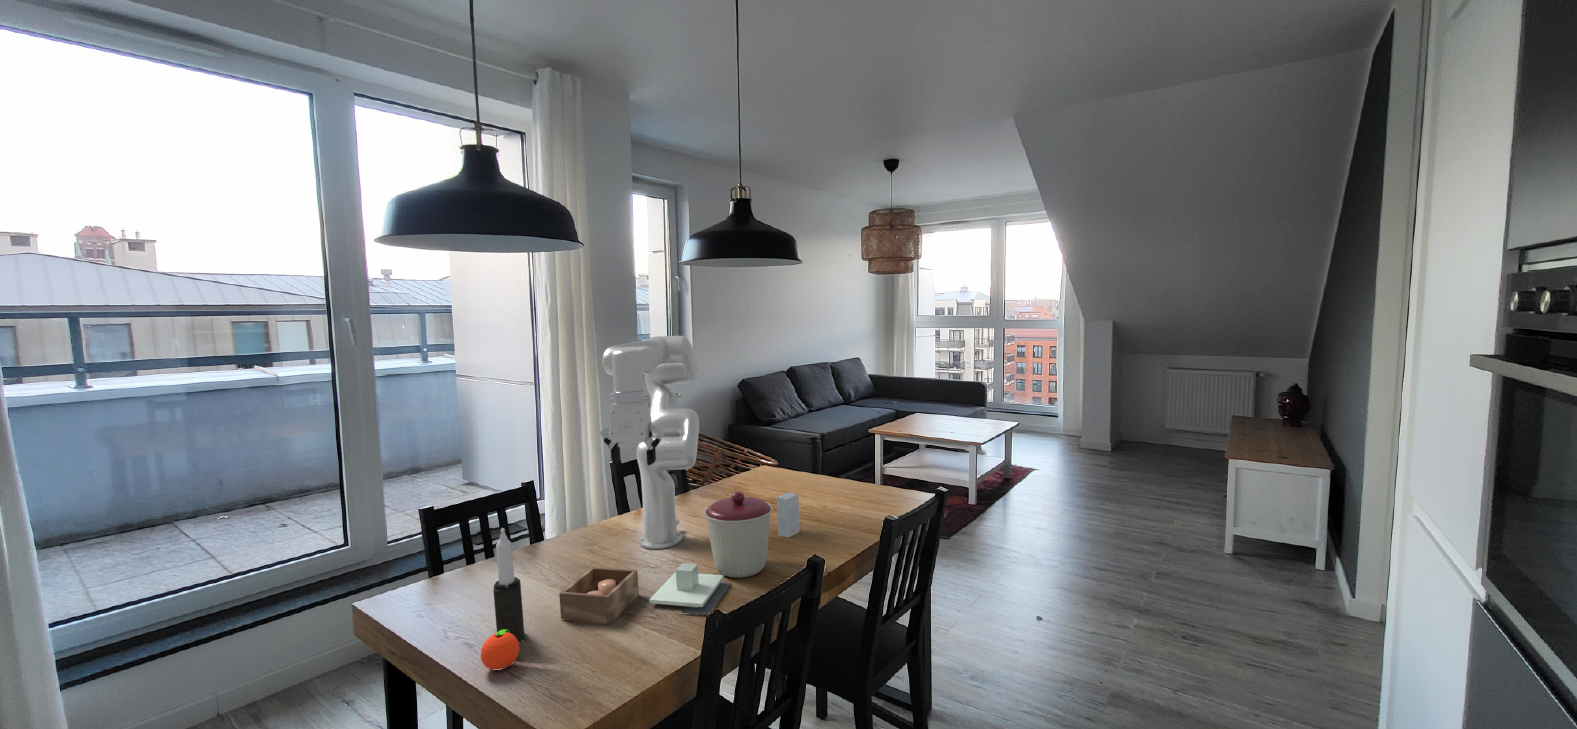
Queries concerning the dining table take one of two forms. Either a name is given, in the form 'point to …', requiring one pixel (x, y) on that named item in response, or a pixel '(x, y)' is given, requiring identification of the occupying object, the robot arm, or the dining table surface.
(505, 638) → the clementine
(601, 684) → the dining table surface
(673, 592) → the lid
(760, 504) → the canister
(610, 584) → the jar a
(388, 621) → the dining table surface
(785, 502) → the skincare box
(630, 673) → the dining table surface
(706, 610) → the trivet
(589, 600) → the box
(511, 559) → the candle
